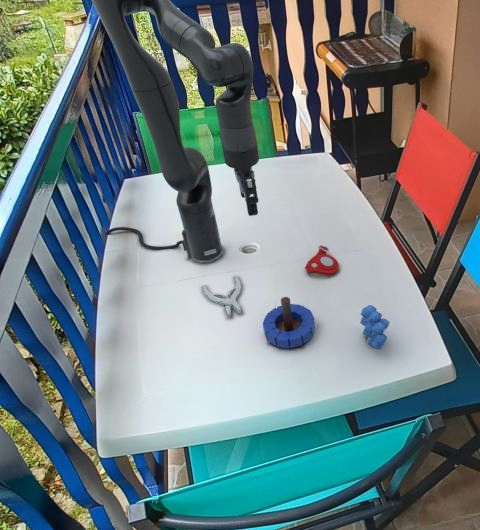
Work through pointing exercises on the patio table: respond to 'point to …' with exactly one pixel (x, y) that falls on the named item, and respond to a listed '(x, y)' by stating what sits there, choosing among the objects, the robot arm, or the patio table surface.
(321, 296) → the patio table surface
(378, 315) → the grapes
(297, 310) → the ring
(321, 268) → the tracker holder
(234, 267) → the patio table surface
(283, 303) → the post
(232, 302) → the pliers
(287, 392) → the patio table surface
